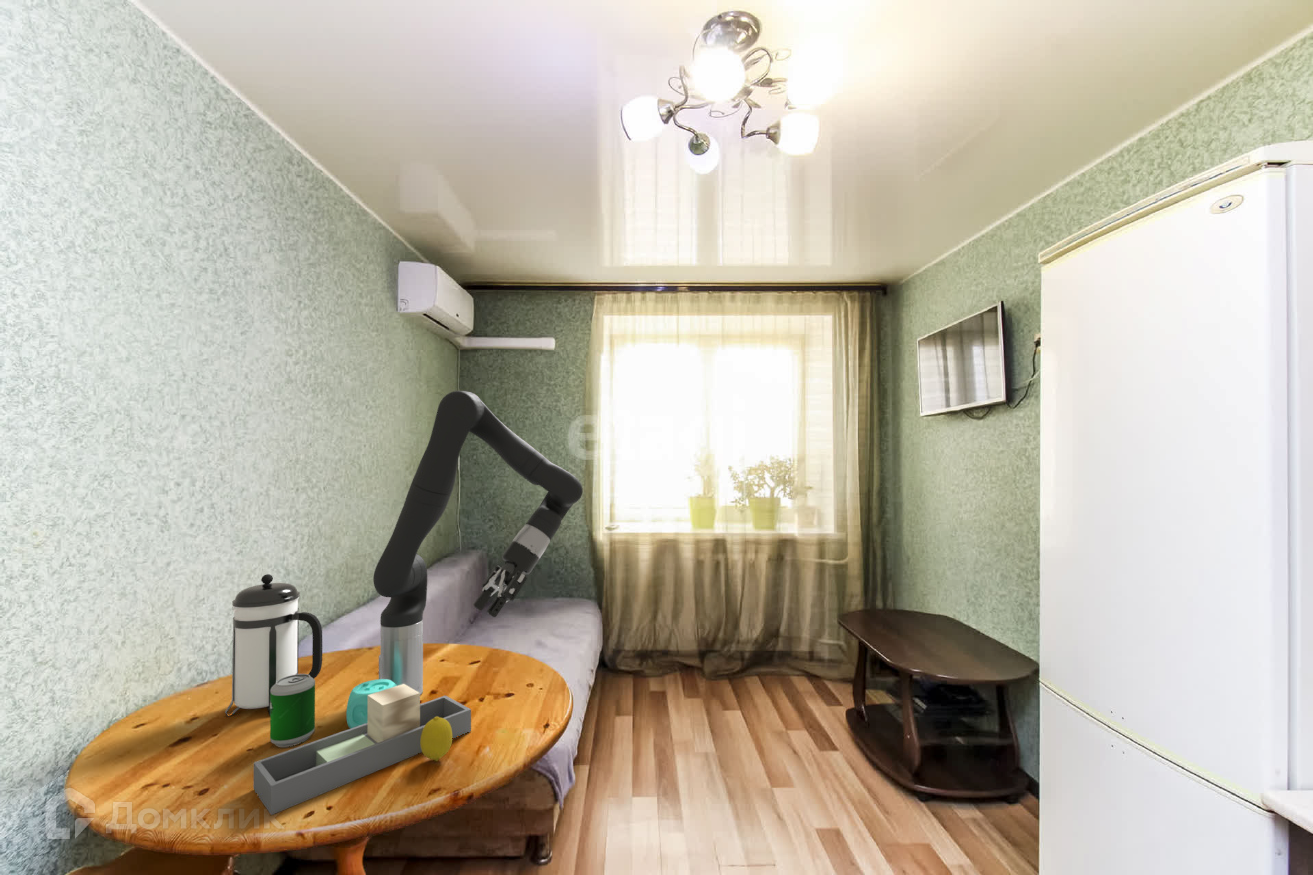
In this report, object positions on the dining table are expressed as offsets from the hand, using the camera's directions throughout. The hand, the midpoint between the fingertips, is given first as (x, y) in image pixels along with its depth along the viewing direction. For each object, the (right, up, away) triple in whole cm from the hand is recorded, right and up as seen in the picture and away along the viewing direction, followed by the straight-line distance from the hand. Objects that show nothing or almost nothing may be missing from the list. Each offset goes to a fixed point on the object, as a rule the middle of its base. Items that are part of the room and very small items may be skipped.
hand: (483, 611), depth 121 cm
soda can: (-35, -23, -10) cm, 43 cm away
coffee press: (-51, -24, +7) cm, 57 cm away
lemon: (-3, -22, -19) cm, 29 cm away
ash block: (-13, -19, -14) cm, 27 cm away
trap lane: (-15, -22, -17) cm, 32 cm away
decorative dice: (-22, -23, -4) cm, 32 cm away
